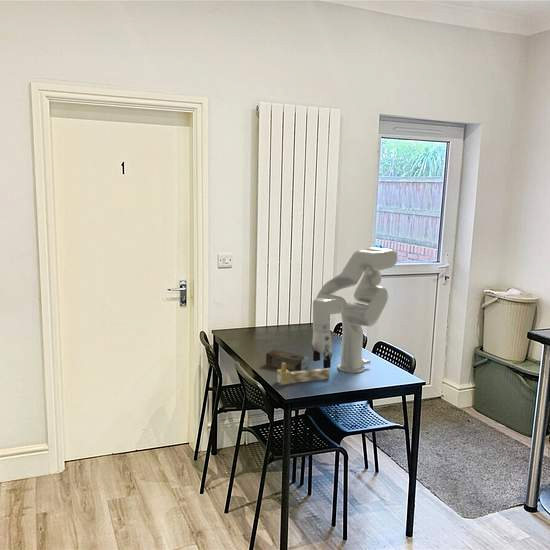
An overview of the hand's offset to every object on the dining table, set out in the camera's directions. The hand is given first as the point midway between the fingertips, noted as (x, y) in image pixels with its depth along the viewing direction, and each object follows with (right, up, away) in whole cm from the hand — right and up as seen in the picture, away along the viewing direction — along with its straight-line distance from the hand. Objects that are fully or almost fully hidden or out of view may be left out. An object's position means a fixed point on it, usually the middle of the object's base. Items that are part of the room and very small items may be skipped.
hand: (321, 364), depth 240 cm
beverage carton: (-15, -4, +16) cm, 22 cm away
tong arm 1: (-6, -6, -1) cm, 9 cm away
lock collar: (-17, -7, -7) cm, 20 cm away
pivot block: (-17, -7, -7) cm, 20 cm away
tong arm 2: (-5, -7, -3) cm, 9 cm away
